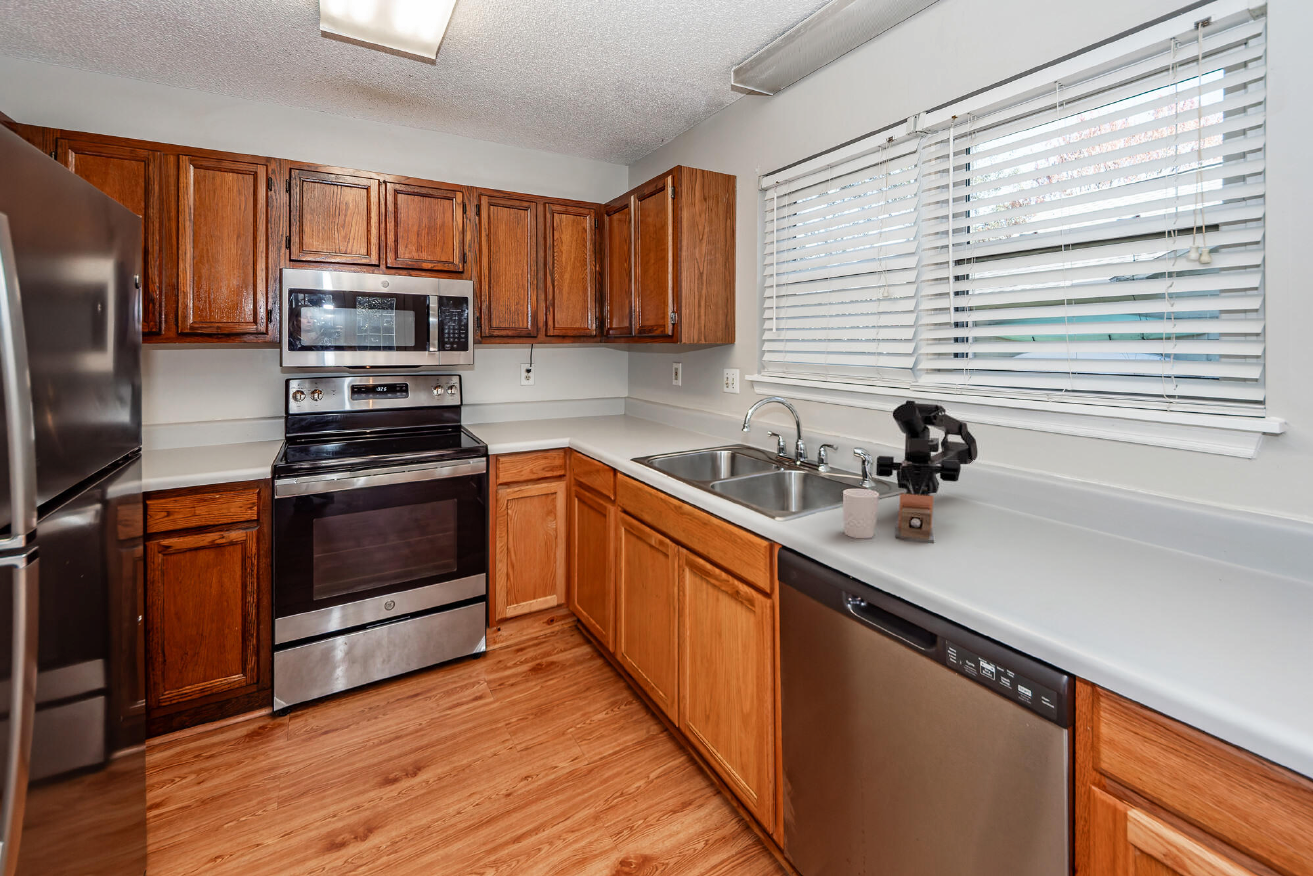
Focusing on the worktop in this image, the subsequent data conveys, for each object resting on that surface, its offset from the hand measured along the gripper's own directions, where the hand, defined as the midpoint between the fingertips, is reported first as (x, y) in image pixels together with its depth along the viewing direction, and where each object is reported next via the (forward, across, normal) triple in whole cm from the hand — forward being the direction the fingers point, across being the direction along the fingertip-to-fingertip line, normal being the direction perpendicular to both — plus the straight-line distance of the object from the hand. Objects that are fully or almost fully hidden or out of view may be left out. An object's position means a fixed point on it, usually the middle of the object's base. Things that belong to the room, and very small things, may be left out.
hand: (916, 497), depth 139 cm
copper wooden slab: (+10, 0, 0) cm, 10 cm away
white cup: (+12, -12, -1) cm, 17 cm away
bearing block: (+8, 0, +2) cm, 9 cm away
